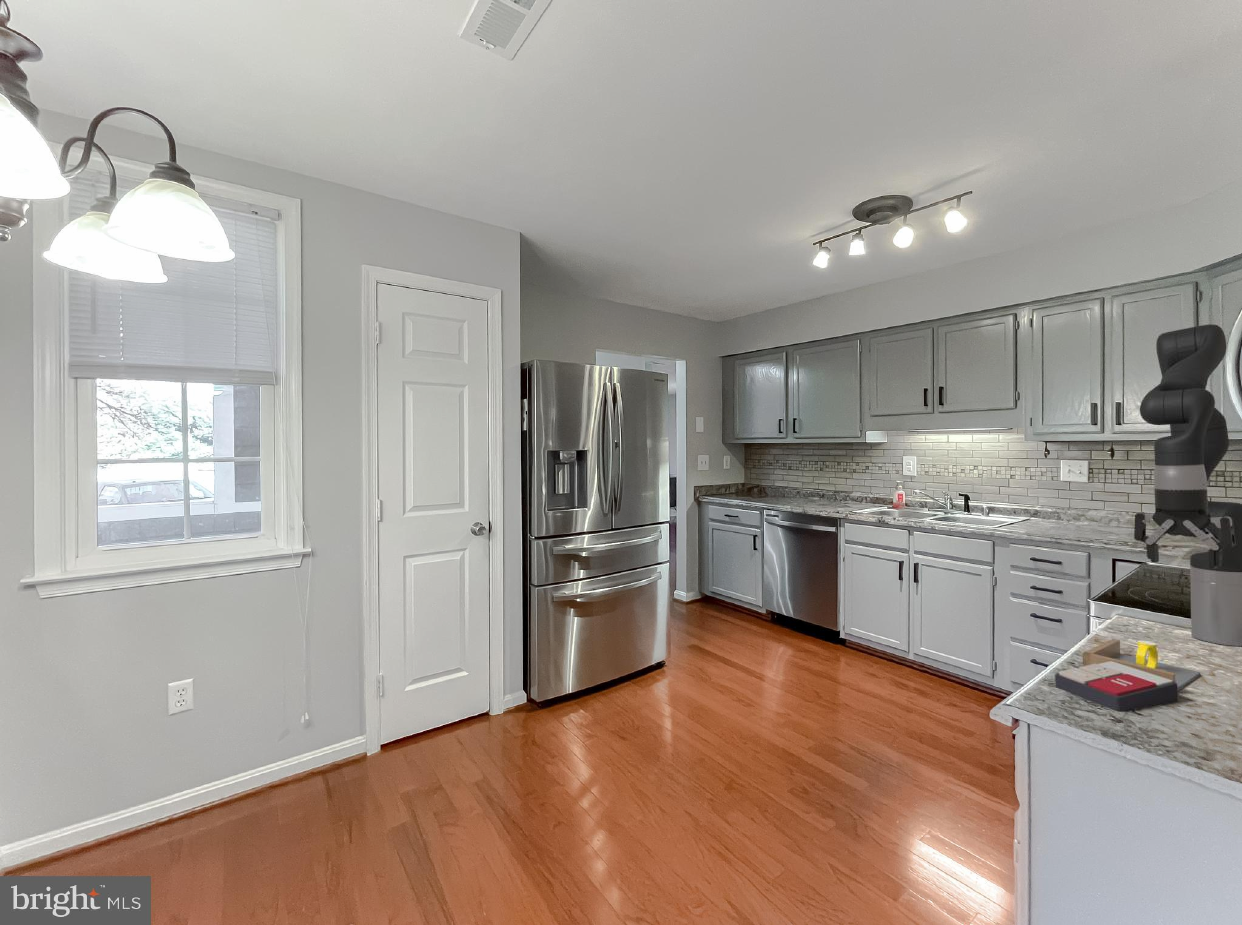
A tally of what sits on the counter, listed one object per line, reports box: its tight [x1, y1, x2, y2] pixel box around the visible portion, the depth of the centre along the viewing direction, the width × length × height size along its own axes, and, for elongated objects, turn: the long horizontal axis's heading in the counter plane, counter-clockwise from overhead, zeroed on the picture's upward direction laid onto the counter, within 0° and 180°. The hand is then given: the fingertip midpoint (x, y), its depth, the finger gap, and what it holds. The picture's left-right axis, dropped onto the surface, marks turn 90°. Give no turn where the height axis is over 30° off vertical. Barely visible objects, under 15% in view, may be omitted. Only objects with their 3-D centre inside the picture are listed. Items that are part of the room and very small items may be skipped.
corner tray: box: [1082, 638, 1201, 691], centre depth 110 cm, size 16×14×4 cm
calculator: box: [1054, 661, 1179, 713], centre depth 101 cm, size 11×4×15 cm
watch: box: [1135, 640, 1159, 669], centre depth 109 cm, size 6×3×6 cm, turn 116°
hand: (1183, 564), depth 110 cm, fingers open, 8 cm apart
